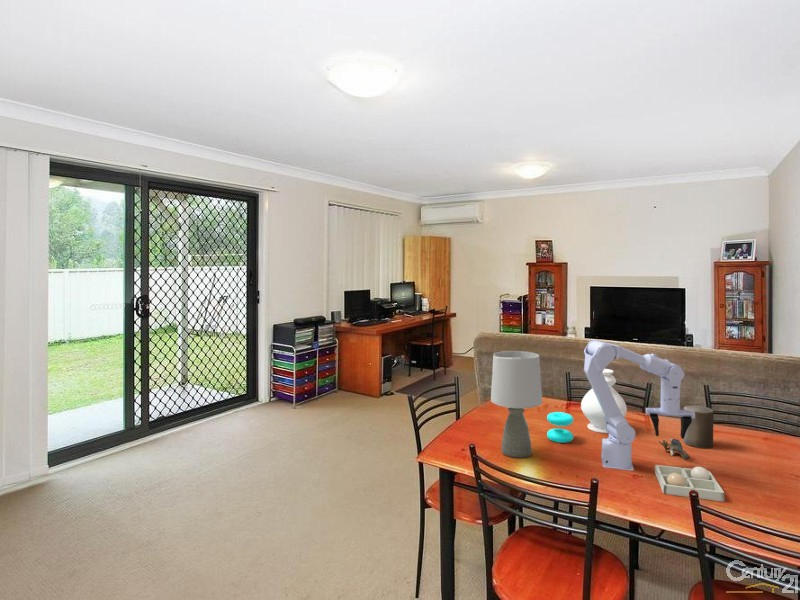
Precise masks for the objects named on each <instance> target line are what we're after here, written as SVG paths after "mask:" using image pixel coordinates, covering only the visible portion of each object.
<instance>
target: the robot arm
mask: <svg viewBox="0 0 800 600" xmlns="http://www.w3.org/2000/svg"><path fill="white" fill-rule="evenodd" d="M583 353H584V365H583V371H584V374H585V376H586V378H587V380H588V382H589V384H590V386H591V389H593V391H594V393H595V395H596V397H597V399H598V402H599V404H600V406H601V408H602V410H603V412H604V414H605V417H604V420H605V423H606V424H605V427H606V430H607V432H608V433H607V434H608V438H607V437H606V438H602V439H601V455H600V459H601V462H602V463H601V464H602V467H603V468H607V469H614V470H615V469H616V470H624V471H632V472H633V471H634V470H635V469H634V465H633V463H632V462H633V461H632V450H633V449H632V443H633V441H634V440H635V438H636V434H637V433H636V430H635V428H634V427H632V426H631V425H630V423H628V420H627V419H626V417H624V416H623V415H622V414H621V412H620V410H619V408H618V406H617V403H616V401H615V399H614V397H613V395H612V393H611V390H610V388H609V386H608V384H607V382H606V380H605V378H604V375H603V373H602V372H603V370H604V369H606V367H607V366H609V365H610V363H611V362H612V361H613V360H619V359H620V358H622V359H625V360H627V361H630V362H633V363H636V364H637V365H638V364H639V367H640V369H641V370H644V371H646V372H648V373H650V374H653V375H656V376H659V377H660V407H645V415H647V416H649V418H650V419H651V422H652V424H653V425H652V426H653V427H654V429H653V430H654V435H655V436H656V437H659V435H660V431H659V430H660V429H659V423H660V419H659V416H665V417H676V418H677V417H678V418H680V438H681V439H682V440H684V437H685V433H686V431H687V429H688V427H689V425H690V424H691V422H692V419H691V418H694V419H695V412H694V411H686V410H684V409H680V408H681V405H680V404H681V383H682V380H683V379H684V377H685V374H686V373H685V372H684V370H683V368H682V366H680V365H679V364H675V363H673V362H670V360H669V359H666V358H665V359H664V358H663V359H662V358H660V357H658V355H657V354H655V353H651V354H650V353H647V354H643V355H642V354H639V353H637V352H635V351H632V350H630V349H628V348H625V347H623V346H620V345H618V344H614V343H609V342H605V341H600V340H599V339H593V340H590V341H589V342H588V343H587V345H586V346H585V348H584V350H583Z"/></svg>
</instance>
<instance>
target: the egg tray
mask: <svg viewBox="0 0 800 600" xmlns="http://www.w3.org/2000/svg"><path fill="white" fill-rule="evenodd" d="M692 469H693V468H687V467H679V466H668V465H661V464H655V465H654V473H655V475H656V479H657V481H658V483H659V486H660V488H661V491H662V494H663V495H670V496H676V497H677V496H678V497H685V498H690V497H689V492H690V491H691V490H695V491H697V492H698V493H699V498H700V499H701V500H709V501H715V502H723V503H724V502H725V492H724V490H723V489H722V487H721V485H720V484H719V482H718V481H717V480H716V478H715V476H714V475H713V474H712V472H711V471H710V470H707V471H708V472H709V475H710V479H709V480H705V479H697V478H692V477H691V470H692ZM671 473H678V474H680V475H682V476H683V477H684V478H685V481H686V486H685V487H683V486H675V485H668V483H667V477H668V475H669V474H671ZM699 498H698V499H699Z"/></svg>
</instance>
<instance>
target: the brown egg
mask: <svg viewBox="0 0 800 600" xmlns="http://www.w3.org/2000/svg"><path fill="white" fill-rule="evenodd" d="M667 483H668V485H675V486H683V487H685V486H686V481H685V478H684V477H683V476H682V475H680V474H678V473H671V474H669V475H668V477H667Z"/></svg>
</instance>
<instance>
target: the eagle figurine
mask: <svg viewBox="0 0 800 600" xmlns="http://www.w3.org/2000/svg"><path fill="white" fill-rule="evenodd" d="M669 440H670V443H669V442H668V441H667V440H666V439H663V440H662V442H661V441H660V440H658V444H660V445H662V446H663V448H664V449H665V452H668V450H669V451H670V452H669V453H670V457H672V456H674V452H677V453H678V454H679V455H680V456H681V457H682V459H683V460H686V461H690V460H691V457H690V454H688V453H687V452H686V451H685V450H684V449H683V445H682V443H681V441H680V440H679V439H676V438H673V439H672V438H671V437H670V438H669ZM688 459H689V460H688Z"/></svg>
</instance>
